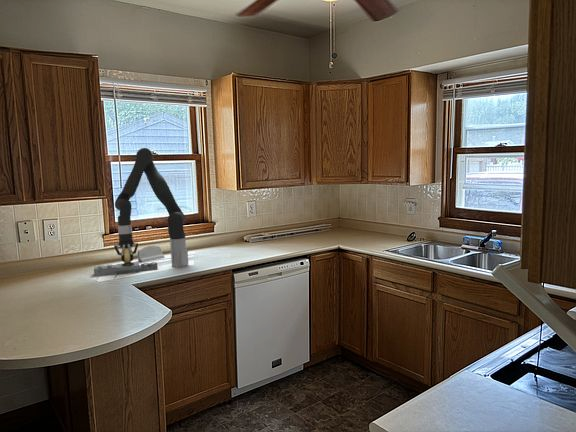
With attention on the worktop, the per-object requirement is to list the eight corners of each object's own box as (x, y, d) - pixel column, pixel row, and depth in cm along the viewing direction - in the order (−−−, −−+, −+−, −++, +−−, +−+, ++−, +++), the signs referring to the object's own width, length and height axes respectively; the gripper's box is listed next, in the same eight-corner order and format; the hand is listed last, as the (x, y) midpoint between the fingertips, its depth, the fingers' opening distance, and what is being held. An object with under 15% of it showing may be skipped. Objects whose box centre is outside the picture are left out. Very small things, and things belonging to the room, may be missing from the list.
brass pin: (133, 266, 259) (131, 247, 258) (128, 268, 256) (126, 248, 254) (128, 266, 261) (126, 246, 259) (123, 267, 257) (121, 248, 256)
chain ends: (157, 266, 269) (156, 258, 268) (158, 269, 259) (157, 261, 258) (95, 272, 257) (94, 264, 256) (94, 277, 247) (93, 268, 247)
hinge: (141, 262, 280) (138, 247, 281) (138, 263, 284) (135, 249, 285) (165, 257, 292) (161, 243, 293) (162, 259, 295) (158, 245, 296)
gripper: (137, 230, 261) (140, 258, 263) (112, 232, 256) (114, 261, 259) (138, 232, 254) (140, 261, 256) (112, 234, 249) (114, 263, 252)
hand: (127, 260), depth 258 cm, fingers closed on brass pin, 4 cm apart
